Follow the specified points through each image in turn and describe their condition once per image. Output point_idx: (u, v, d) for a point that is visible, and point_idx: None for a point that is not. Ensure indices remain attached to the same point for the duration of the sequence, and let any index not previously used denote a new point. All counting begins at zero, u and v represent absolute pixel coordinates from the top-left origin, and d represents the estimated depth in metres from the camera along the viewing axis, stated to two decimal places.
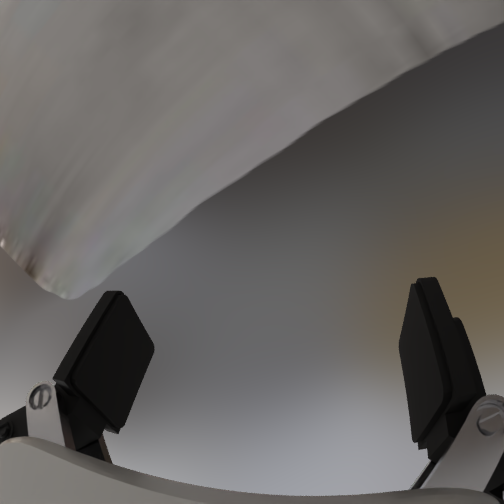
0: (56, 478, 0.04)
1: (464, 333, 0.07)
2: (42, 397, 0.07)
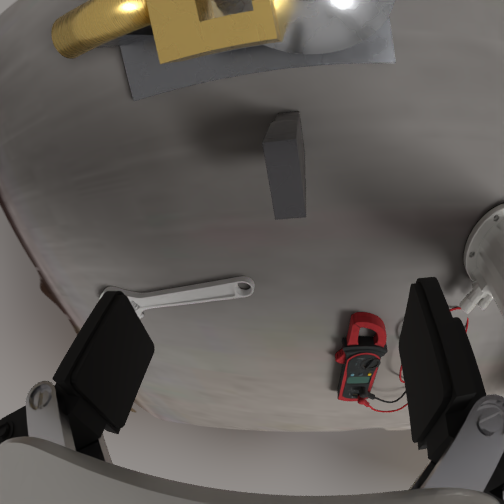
0: (56, 478, 0.04)
1: (464, 333, 0.07)
2: (42, 397, 0.07)
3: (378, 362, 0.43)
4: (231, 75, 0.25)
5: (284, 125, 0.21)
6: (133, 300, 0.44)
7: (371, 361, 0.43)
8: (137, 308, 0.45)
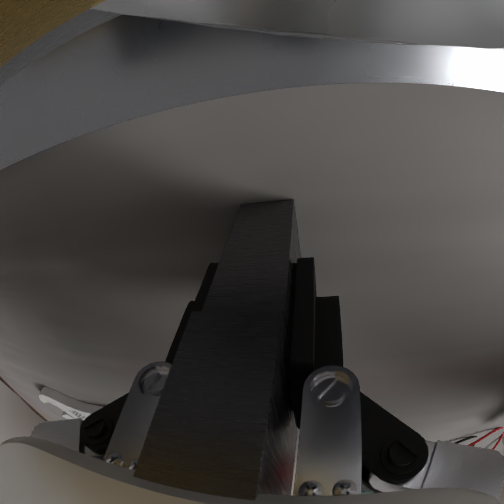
0: (56, 478, 0.04)
1: (339, 310, 0.09)
2: (156, 381, 0.07)
3: None
4: (115, 120, 0.09)
5: (222, 380, 0.05)
6: (75, 410, 0.28)
7: None
8: (82, 417, 0.29)
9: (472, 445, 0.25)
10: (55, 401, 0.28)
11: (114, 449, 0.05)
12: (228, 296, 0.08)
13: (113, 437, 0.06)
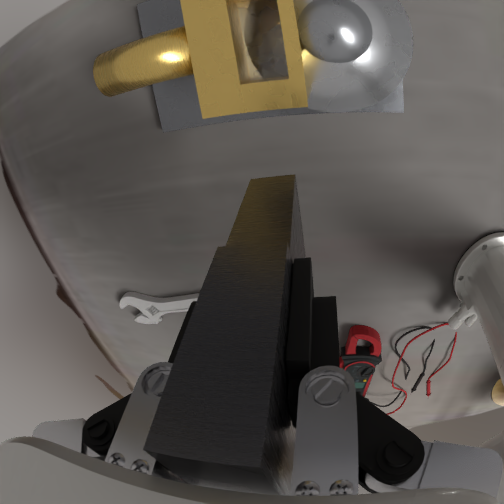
0: (56, 478, 0.04)
1: (336, 310, 0.09)
2: (159, 381, 0.07)
3: (373, 370, 0.48)
4: (256, 117, 0.29)
5: (244, 286, 0.08)
6: (153, 305, 0.48)
7: (367, 369, 0.47)
8: (156, 312, 0.49)
9: (433, 341, 0.45)
10: (137, 300, 0.48)
11: (117, 450, 0.05)
12: (245, 239, 0.10)
13: (115, 437, 0.06)
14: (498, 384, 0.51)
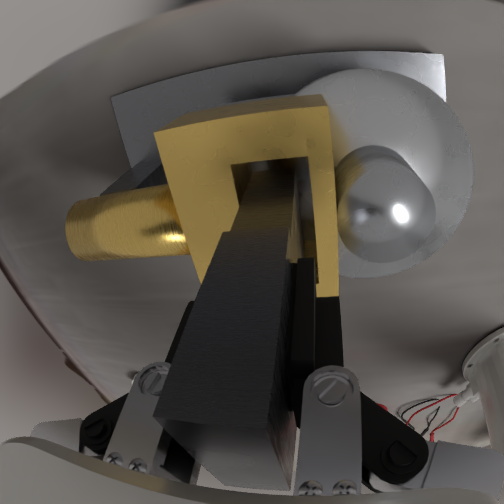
0: (56, 478, 0.04)
1: (339, 310, 0.09)
2: (156, 381, 0.07)
3: None
4: None
5: (249, 266, 0.08)
6: None
7: None
8: None
9: (438, 407, 0.43)
10: None
11: (114, 449, 0.05)
12: (248, 226, 0.10)
13: (113, 437, 0.06)
14: None
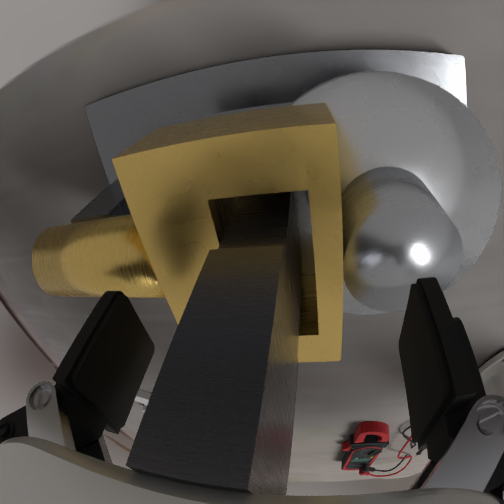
0: (56, 478, 0.04)
1: (464, 333, 0.07)
2: (42, 397, 0.07)
3: (380, 451, 0.43)
4: None
5: (236, 292, 0.07)
6: None
7: (374, 451, 0.42)
8: None
9: None
10: (142, 399, 0.42)
11: None
12: (238, 241, 0.10)
13: None
14: None
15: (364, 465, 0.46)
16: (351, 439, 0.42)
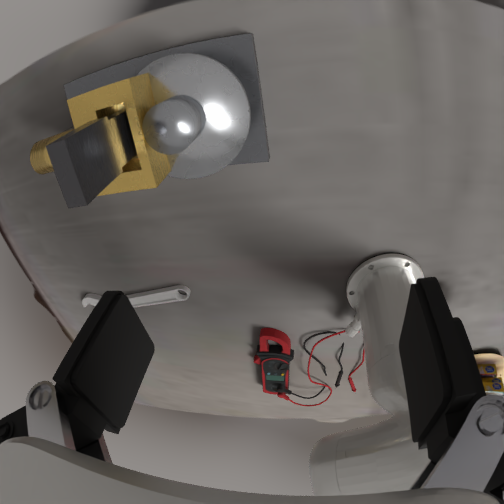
0: (56, 478, 0.04)
1: (464, 333, 0.07)
2: (42, 397, 0.07)
3: (287, 366, 0.58)
4: None
5: (87, 124, 0.21)
6: None
7: (281, 364, 0.58)
8: None
9: (342, 344, 0.56)
10: (94, 300, 0.56)
11: None
12: None
13: None
14: None
15: (279, 385, 0.62)
16: (258, 348, 0.58)
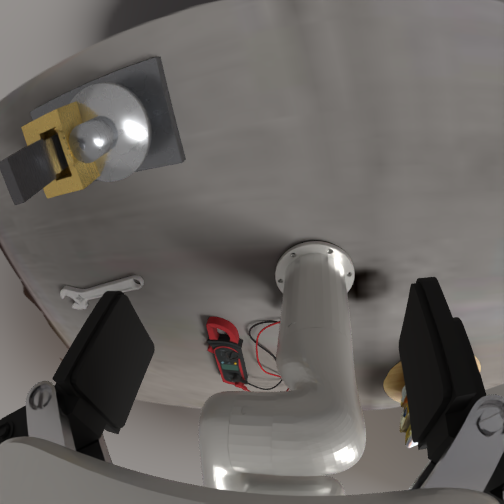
0: (56, 478, 0.04)
1: (464, 333, 0.07)
2: (42, 397, 0.07)
3: (237, 354, 0.63)
4: None
5: (28, 145, 0.27)
6: (79, 294, 0.62)
7: (231, 353, 0.62)
8: (82, 300, 0.63)
9: None
10: (69, 291, 0.62)
11: None
12: None
13: None
14: (387, 383, 0.66)
15: (235, 374, 0.66)
16: (209, 337, 0.63)
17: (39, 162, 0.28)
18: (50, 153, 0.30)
